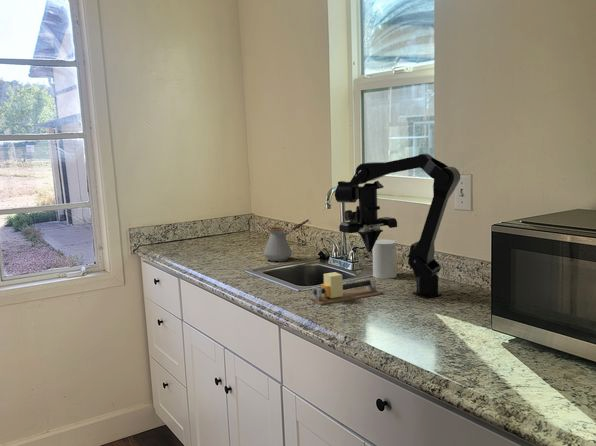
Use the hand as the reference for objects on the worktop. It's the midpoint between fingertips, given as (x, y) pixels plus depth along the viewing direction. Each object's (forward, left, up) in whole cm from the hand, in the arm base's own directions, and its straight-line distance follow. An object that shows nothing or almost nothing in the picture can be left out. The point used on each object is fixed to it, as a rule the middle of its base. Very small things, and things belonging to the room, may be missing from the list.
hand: (369, 251), depth 181 cm
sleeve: (-4, +16, -12) cm, 20 cm away
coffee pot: (+58, +2, -12) cm, 59 cm away
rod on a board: (-4, +12, -12) cm, 17 cm away
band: (-4, +18, -11) cm, 21 cm away
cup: (+11, -13, -12) cm, 21 cm away
